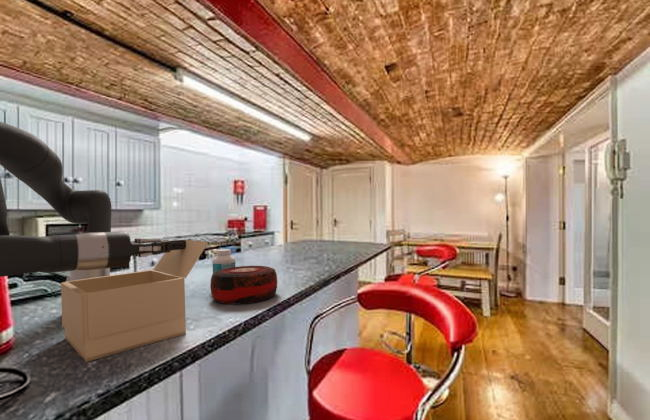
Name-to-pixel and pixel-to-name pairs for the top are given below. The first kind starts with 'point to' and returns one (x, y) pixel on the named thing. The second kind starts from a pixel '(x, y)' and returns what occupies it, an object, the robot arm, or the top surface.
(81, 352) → the carton
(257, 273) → the wheel
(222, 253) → the pill bottle
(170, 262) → the carton flap
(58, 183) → the robot arm
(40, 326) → the top surface
